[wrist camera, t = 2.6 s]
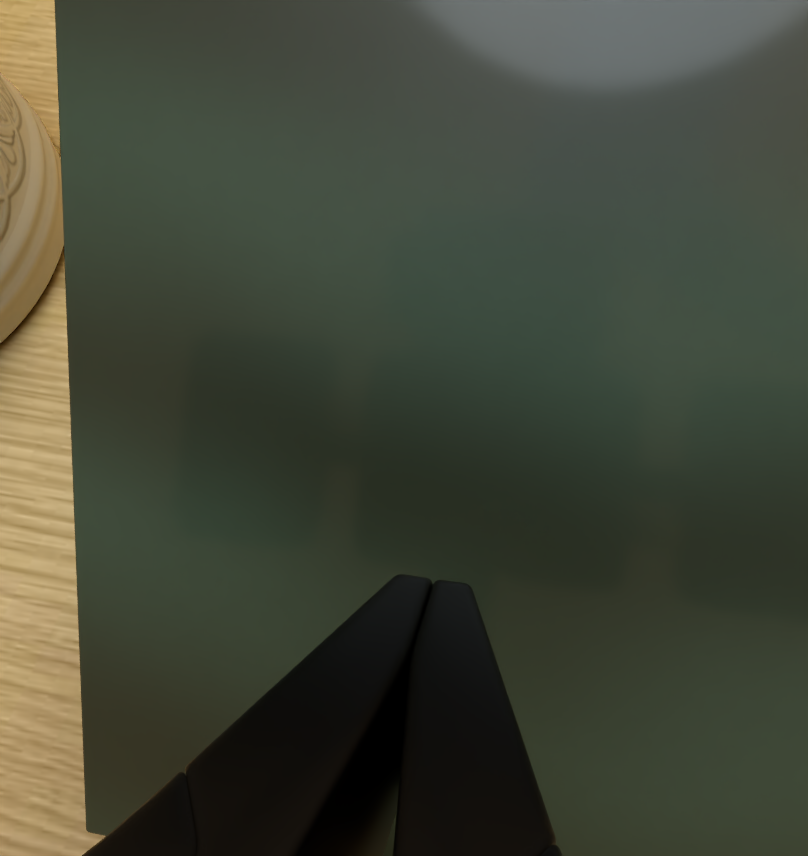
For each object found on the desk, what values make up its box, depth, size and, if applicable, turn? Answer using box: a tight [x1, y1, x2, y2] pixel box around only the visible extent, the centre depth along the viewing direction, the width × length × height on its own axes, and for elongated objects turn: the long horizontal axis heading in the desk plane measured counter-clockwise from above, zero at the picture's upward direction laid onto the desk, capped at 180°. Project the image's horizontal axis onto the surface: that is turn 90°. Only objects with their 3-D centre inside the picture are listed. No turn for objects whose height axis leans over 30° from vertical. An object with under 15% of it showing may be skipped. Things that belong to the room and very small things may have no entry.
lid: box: [55, 0, 808, 856], centre depth 12 cm, size 15×13×1 cm
